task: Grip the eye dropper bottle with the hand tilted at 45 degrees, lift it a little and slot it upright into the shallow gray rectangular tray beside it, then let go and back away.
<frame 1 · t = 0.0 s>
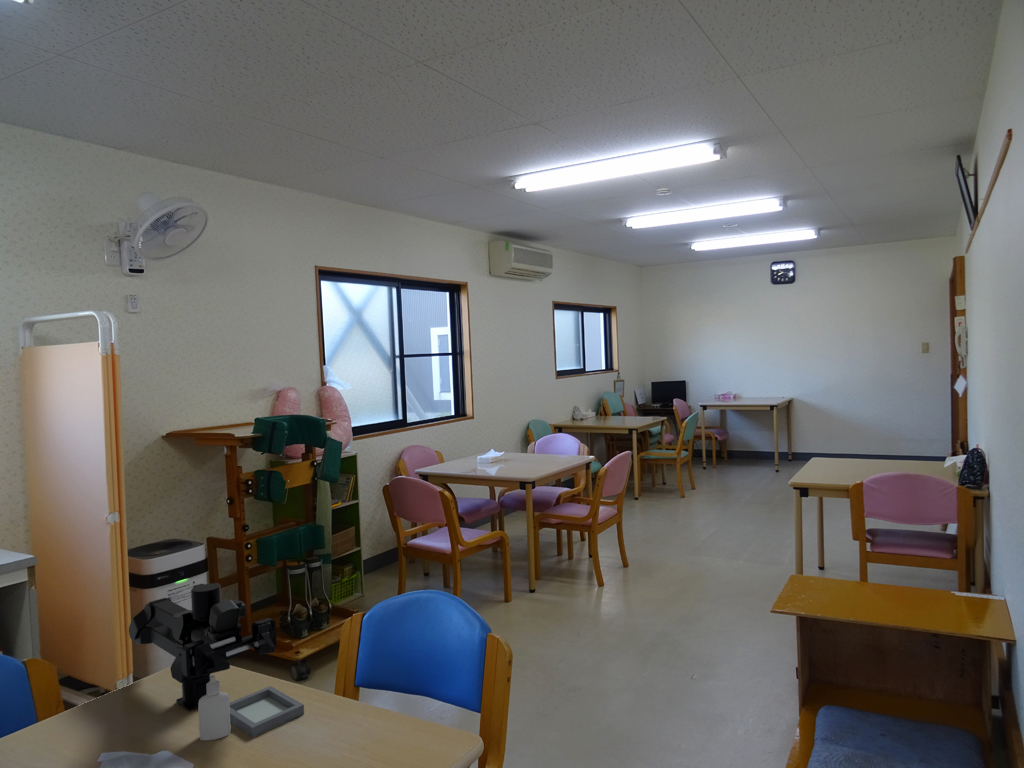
hand: (251, 657, 133), 17 cm above the table, tool horizontal, fingers open, 9 cm apart
gray rectangular tray: (262, 714, 144), on the table
eye dropper bottle: (215, 736, 137), on the table
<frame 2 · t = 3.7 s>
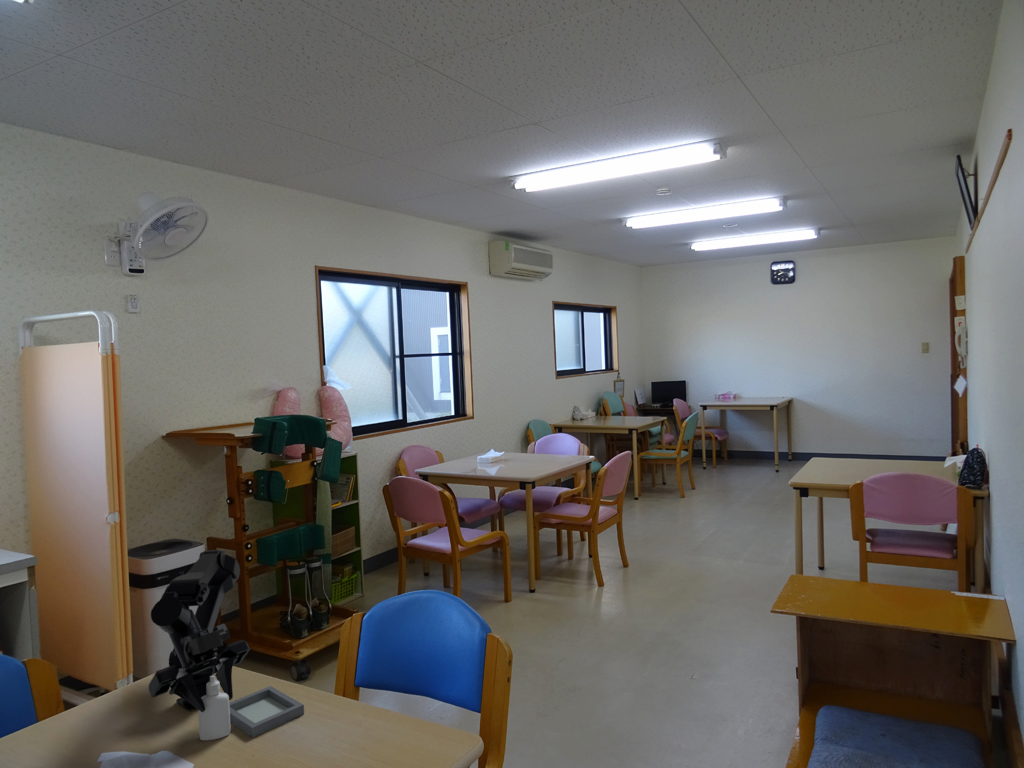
hand: (217, 704, 135), 7 cm above the table, tool tilted 45°, fingers closed on eye dropper bottle, 5 cm apart
eye dropper bottle: (215, 736, 137), on the table, touching gripper
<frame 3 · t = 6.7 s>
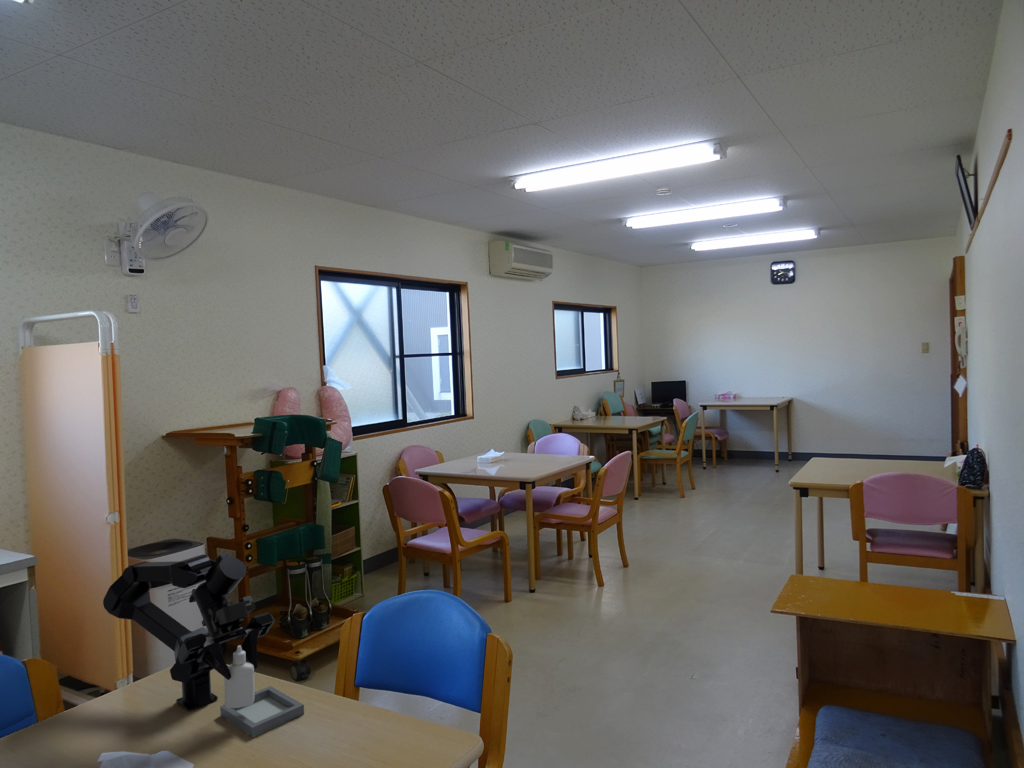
hand: (243, 673, 139), 11 cm above the table, tool tilted 45°, fingers closed on eye dropper bottle, 5 cm apart
eye dropper bottle: (239, 705, 140), point 4 cm above the table, touching gripper
when the fingers open (7 cm above the table, at t = 9.6 s): eye dropper bottle stays where it is, resting on gray rectangular tray.
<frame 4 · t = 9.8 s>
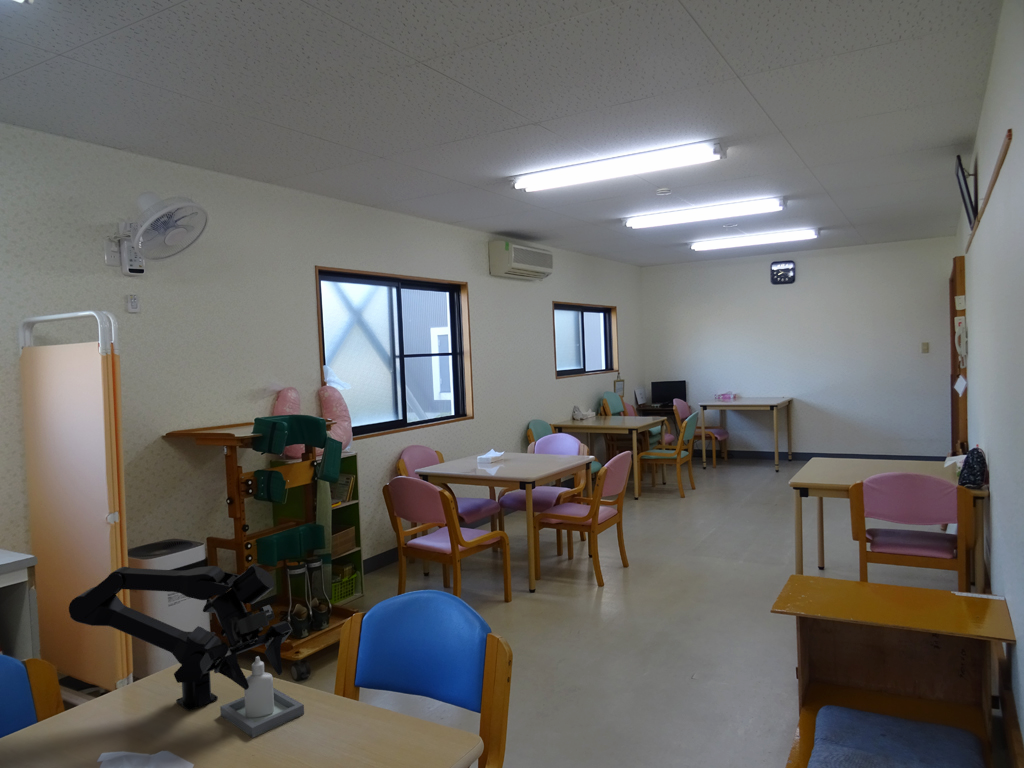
hand: (264, 681, 143), 8 cm above the table, tool tilted 45°, fingers open, 7 cm apart
eye dropper bottle: (260, 714, 144), resting on gray rectangular tray
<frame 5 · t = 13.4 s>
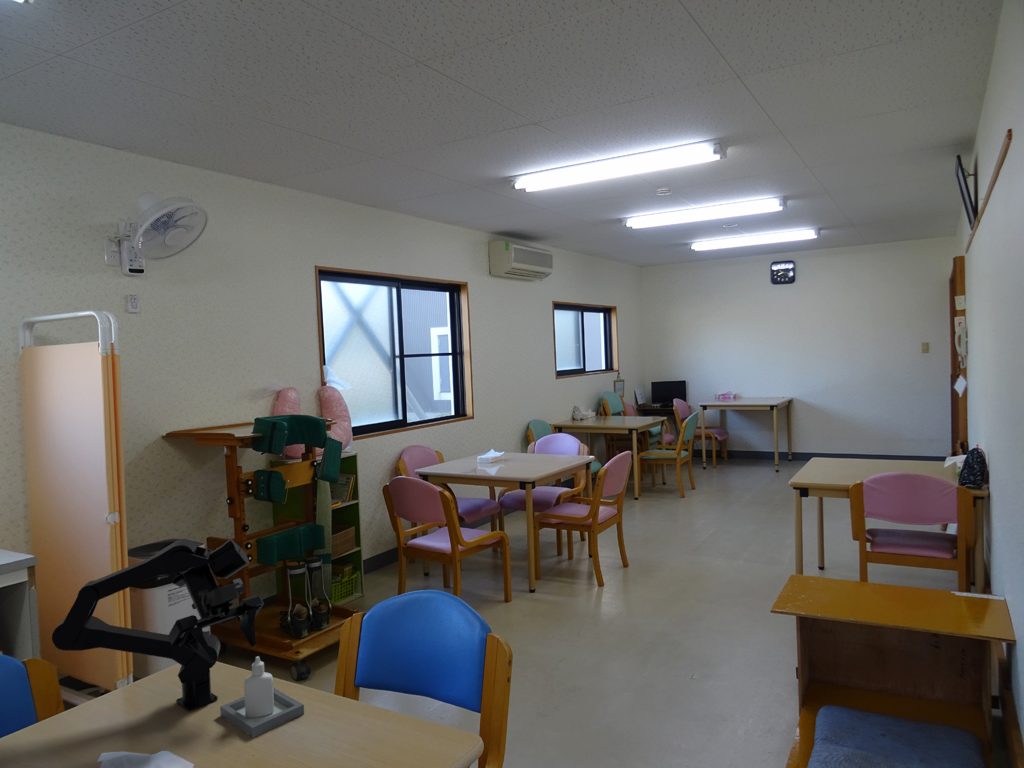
hand: (234, 653, 143), 14 cm above the table, tool tilted 45°, fingers open, 9 cm apart
nothing on the table moved.
at the end: eye dropper bottle 0.4 cm off-centre on the gray rectangular tray, point 0.2 cm above the gray rectangular tray's base; eye dropper bottle tilted 0°; the gripper is holding nothing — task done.
